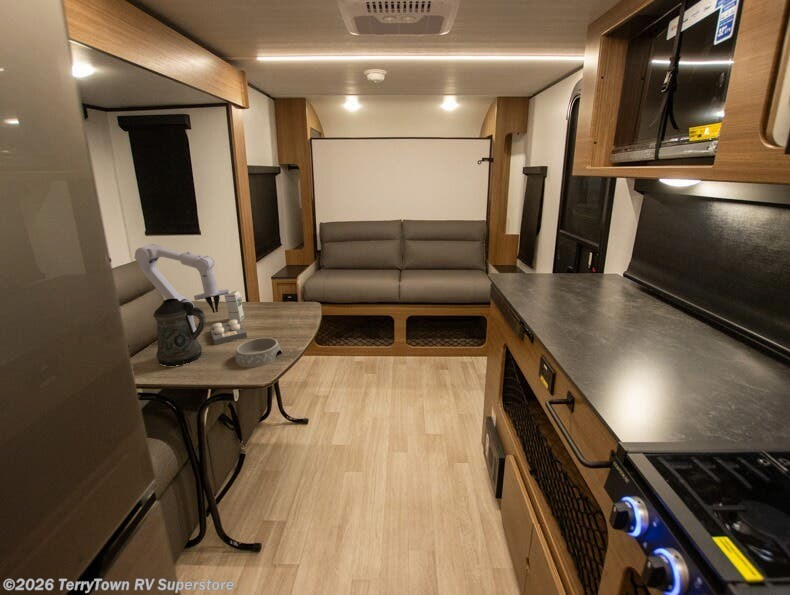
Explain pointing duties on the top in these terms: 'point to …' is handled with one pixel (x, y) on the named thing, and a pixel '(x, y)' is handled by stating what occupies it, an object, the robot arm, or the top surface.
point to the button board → (228, 334)
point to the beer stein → (178, 332)
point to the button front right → (235, 327)
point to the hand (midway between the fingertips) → (215, 311)
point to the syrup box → (234, 305)
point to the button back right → (232, 322)
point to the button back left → (217, 325)
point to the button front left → (219, 330)
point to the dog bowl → (257, 352)
